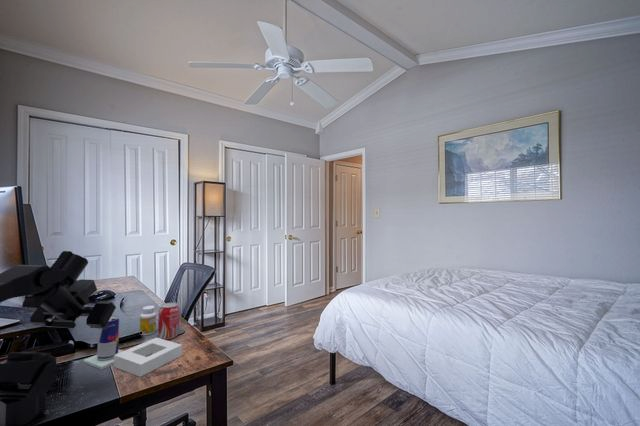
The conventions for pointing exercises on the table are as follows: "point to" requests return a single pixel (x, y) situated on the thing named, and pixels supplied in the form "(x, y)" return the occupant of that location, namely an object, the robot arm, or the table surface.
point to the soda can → (168, 321)
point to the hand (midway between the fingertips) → (90, 327)
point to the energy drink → (108, 340)
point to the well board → (140, 364)
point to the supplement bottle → (148, 320)
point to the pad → (99, 362)
